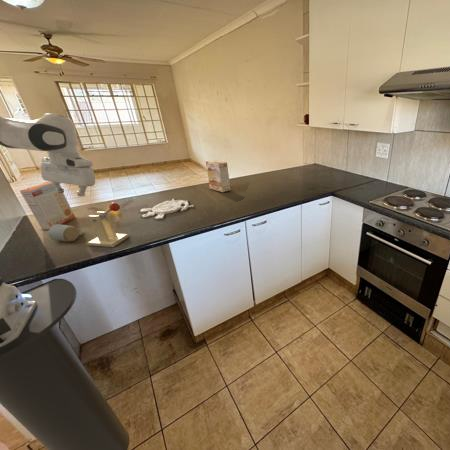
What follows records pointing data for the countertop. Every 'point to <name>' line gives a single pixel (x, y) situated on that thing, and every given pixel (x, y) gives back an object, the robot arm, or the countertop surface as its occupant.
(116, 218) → the countertop surface
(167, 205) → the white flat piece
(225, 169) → the coffeecake box
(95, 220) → the bracket
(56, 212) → the cracker box
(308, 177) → the countertop surface
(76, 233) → the ceramic mug
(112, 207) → the lever
